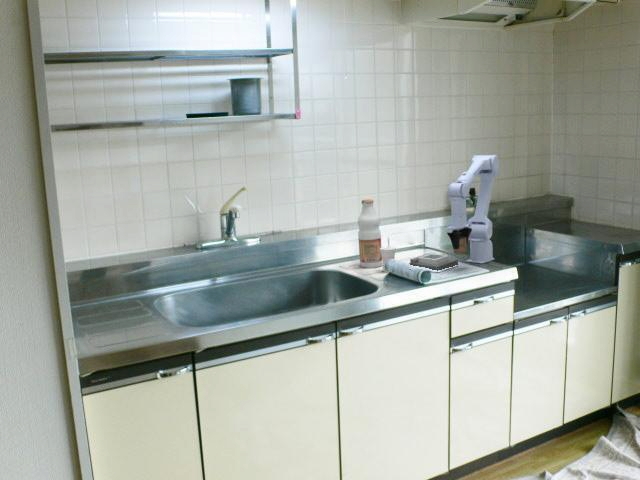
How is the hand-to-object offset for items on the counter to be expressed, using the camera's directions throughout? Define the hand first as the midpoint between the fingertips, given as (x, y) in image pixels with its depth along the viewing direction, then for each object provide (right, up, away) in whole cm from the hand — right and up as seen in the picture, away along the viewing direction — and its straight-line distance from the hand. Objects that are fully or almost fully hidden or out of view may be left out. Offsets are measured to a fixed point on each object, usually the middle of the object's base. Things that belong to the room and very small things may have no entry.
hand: (460, 247), depth 270 cm
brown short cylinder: (0, -2, 0) cm, 2 cm away
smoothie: (-27, -10, +8) cm, 30 cm away
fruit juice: (-34, -8, +20) cm, 40 cm away
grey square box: (-9, -8, +9) cm, 15 cm away
